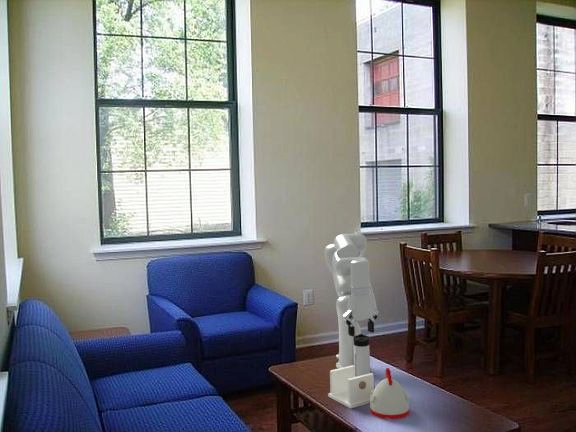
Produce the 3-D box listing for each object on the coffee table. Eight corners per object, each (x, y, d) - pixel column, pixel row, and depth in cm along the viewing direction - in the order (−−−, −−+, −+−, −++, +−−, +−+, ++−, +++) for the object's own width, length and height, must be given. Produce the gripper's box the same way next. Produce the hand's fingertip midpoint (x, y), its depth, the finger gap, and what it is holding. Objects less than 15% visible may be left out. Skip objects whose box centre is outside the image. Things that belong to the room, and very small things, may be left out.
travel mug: (369, 382, 231) (368, 333, 230) (370, 388, 225) (369, 338, 223) (354, 382, 232) (353, 333, 231) (354, 388, 225) (353, 338, 224)
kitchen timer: (405, 403, 209) (404, 363, 208) (413, 418, 195) (412, 376, 194) (367, 404, 209) (366, 364, 208) (372, 420, 195) (371, 377, 194)
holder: (328, 396, 217) (327, 370, 217) (353, 389, 223) (352, 364, 223) (350, 408, 205) (350, 380, 205) (376, 401, 211) (376, 374, 211)
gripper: (371, 287, 233) (372, 328, 234) (337, 292, 225) (338, 335, 225) (383, 289, 227) (384, 332, 228) (348, 295, 218) (349, 339, 219)
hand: (361, 333), depth 227 cm, fingers open, 9 cm apart
